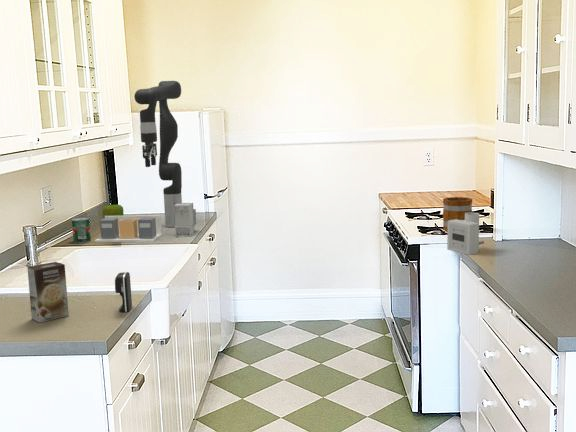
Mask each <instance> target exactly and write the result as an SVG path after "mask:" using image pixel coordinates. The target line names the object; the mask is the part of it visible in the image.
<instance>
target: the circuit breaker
mask: <svg viewBox="0 0 576 432" xmlns="http://www.w3.org/2000/svg"><path fill="white" fill-rule="evenodd" d="M174 207H175V208H174V214H175V227H174V234H175V237H191V236H193V235H194V234H195V232H196V230H195V225H196V224H197V210H196V209H197V208H194V202H182V203H177V204H176V205H174Z"/></svg>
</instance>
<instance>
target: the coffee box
mask: <svg viewBox="0 0 576 432" xmlns="http://www.w3.org/2000/svg"><path fill="white" fill-rule="evenodd" d="M26 269H27V279H28V291H29V304H30V315H31V319H32V320H34V321H36V322H38V323H45V322H49V321H53V320H57V319H61V318H64V317H69V316H70V315H69V314H70V313H69V303H68V302H69V301H68V290H67V278H66V265H65V264H63V263H61V262H58V261H54V262H47V263H42V264H36V265H30V266H26Z"/></svg>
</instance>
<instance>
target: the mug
mask: <svg viewBox="0 0 576 432" xmlns="http://www.w3.org/2000/svg"><path fill="white" fill-rule="evenodd" d="M442 201H443V203H442V204H443V207H442V209H443V210H442V220H443V223H442V224H443V225H442V231H443V230H445V231H446V233H448V221H449V220H455V219H457V220H465V213H473V209H472V207H473V198H470V197H464V196H461V197H460V196H454V197H452V196H451V197H444V198H443V199H442ZM445 231H444V232H445Z"/></svg>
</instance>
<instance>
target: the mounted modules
mask: <svg viewBox="0 0 576 432" xmlns="http://www.w3.org/2000/svg"><path fill="white" fill-rule="evenodd" d="M99 224H100V225H99V227H100V228H99V229H100V236H101V238H115V237H117V236H119V227H118V218H104V219H103V218H102V219H100V220H99ZM138 229H139V238H153V237H154V236H156V220H155V218H141V219H139V220H138Z"/></svg>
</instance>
